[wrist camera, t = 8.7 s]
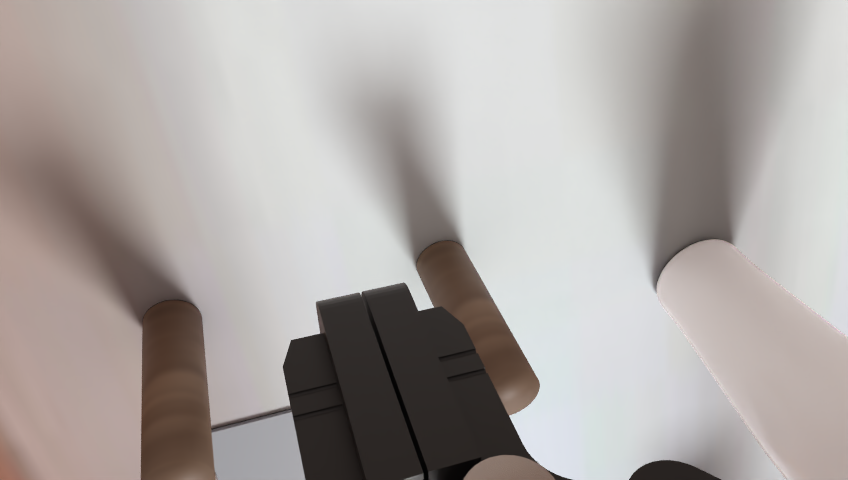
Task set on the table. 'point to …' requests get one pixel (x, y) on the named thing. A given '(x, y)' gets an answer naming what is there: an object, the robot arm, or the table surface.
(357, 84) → the table surface
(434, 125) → the table surface
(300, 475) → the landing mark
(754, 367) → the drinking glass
